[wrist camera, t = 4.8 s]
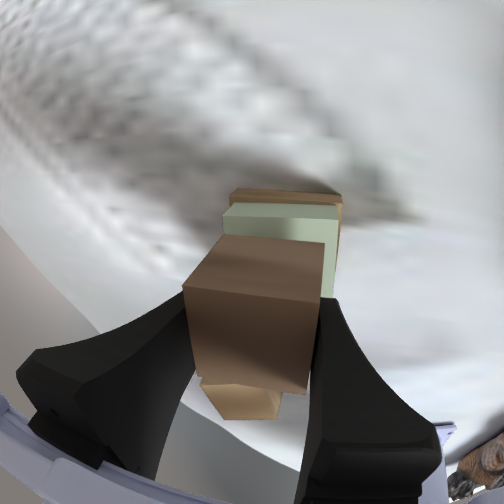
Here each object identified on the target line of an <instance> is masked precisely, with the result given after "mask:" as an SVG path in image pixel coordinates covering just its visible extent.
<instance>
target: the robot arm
mask: <svg viewBox="0 0 504 504" xmlns="http://www.w3.org/2000/svg"><path fill="white" fill-rule="evenodd" d="M195 370H196V367H195V362H194V356H193V351H192V345H191V339H190V333H189V327H188V321H187V315H186V308H185V302H184V295H183V291H182V292H180V293H178V294H177V295H175V296H174V297H172V298H171V299H169V300H168V301H166V302H164V303H163V304H161V305H160V306H158V307H156V308H155V309H153V310H151V311H149V312H148V313H146V314H144V315H142V316H141V317H139V318H137V319H135V320H133V321H131V322H129V323H127V324H125V325H123V326H121V327H118V328H116V329H114V330H112V331H109V332H106V333H103V334H101V335H98V336H95V337H92V338H89V339H86V340H82V341H79V342H75V343H71V344H66V345H62V346H56V347H50V348H43V349H36V350H35V351H34V352H33V353H32V354H31V355H30V356H29V357H28V358H27V360H26V361H25V362H24V363H23V364H22V365H21V366H20V367H19V368H18V370H17V371H16V378H17V380H18V382H19V384H20V386H21V388H22V389H23V391H24V392H25V394H26V395H27V397H28V398H29V399H30V401H31V402H32V404H33V405H34V407H35V408H36V409H37V412H36V413H35V415H34V416H33V417H32V419H29V418H28V417H26V416H25V415H23V414H22V413H20V412H19V411H17V410H15V409H14V408H13V407H12V406H10V404H9V402H8V401H7V399H6V398H5V397H4V395H3V394H2V393H1V392H0V465H1V466H3V467H4V468H5V469H6V470H7V471H8V472H9V473H11V474H12V475H13V476H14V477H15V478H17V479H18V480H19V481H20V482H22V483H23V484H24V485H26V486H27V487H28V488H30V489H31V490H32V491H33V492H35V493H36V494H38V495H39V496H40V497H42V498H43V499H44V501H43V502H42V504H233V503H229V502H224V501H220V500H216V499H212V498H207V497H204V496H200V495H196V494H193V493H189V492H186V491H182V490H179V489H176V488H173V487H170V486H167V485H164V484H161V483H158V482H155V477H156V473H157V469H158V465H159V462H160V458H161V455H162V451H163V448H164V445H165V441H166V438H167V435H168V432H169V429H170V426H171V423H172V421H173V418H174V415H175V413H176V410H177V407H178V405H179V402H180V399H181V397H182V395H183V393H184V391H185V389H186V387H187V385H188V383H189V381H190V379H191V377H192V375H193V374H194V372H195ZM456 429H457V428H456V425H446V426H435V425H433V424H432V423H431V422H429V421H428V420H427V419H425V418H424V417H423V416H421V415H420V414H419V413H417V412H416V411H415V410H413V409H412V408H411V407H410V406H409V405H408V404H407V403H405V402H404V401H403V400H402V399H401V398H400V397H399V396H398V395H397V394H396V393H395V392H394V391H393V390H392V389H391V388H390V387H389V386H388V385H387V384H386V382H385V381H384V380H383V379H382V378H381V377H380V375H379V374H378V373H377V372H376V370H375V369H374V368H373V366H372V365H371V364H370V362H369V361H368V359H367V358H366V356H365V355H364V353H363V352H362V350H361V348H360V347H359V345H358V343H357V342H356V340H355V338H354V336H353V334H352V332H351V330H350V329H349V327H348V325H347V323H346V320H345V318H344V316H343V314H342V311H341V309H340V306H339V303H338V301H337V299H336V298H325V297H320V306H319V314H318V321H317V328H316V335H315V341H314V348H313V354H312V360H311V366H310V407H309V422H308V428H307V435H306V441H305V447H304V453H303V459H302V465H301V470H300V475H299V480H298V486H297V490H296V495H295V500H294V504H449V496H448V485H447V475H446V467H445V459H444V452H443V445H444V444H445V443H446V442H447V440H448V439H449V438H450V437H451V436H452V434H453V433H454V432H455V431H456ZM465 504H504V486H503V487H499V488H496V489H492V490H489V491H486V492H483V493H481V494H479V495H477V496H475V497H474V498H472V499H471V500H470V501H469V502H468V503H465Z"/></svg>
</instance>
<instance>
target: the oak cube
mask: <svg viewBox="0 0 504 504" xmlns="http://www.w3.org/2000/svg"><path fill="white" fill-rule="evenodd" d="M200 387H201V388H202V390H203V391H204V393H205V394H206V395H207V397H208V398H209V400H210V401H211V403H212V404H213V405H214V407H215V408H216V409H217V411H218V412H219V414H220V415H221V416H222V418H223V419H224V420H264V419H277V415H278V410H279V406H280V401H281V396H282V392H281V391H274V390H267V389H261V388H255V387H249V386H244V385H239V384H233V383H228V382H223V381H218V380H214V379H209V378H204V377H203V379H202V381H201V383H200Z"/></svg>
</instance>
